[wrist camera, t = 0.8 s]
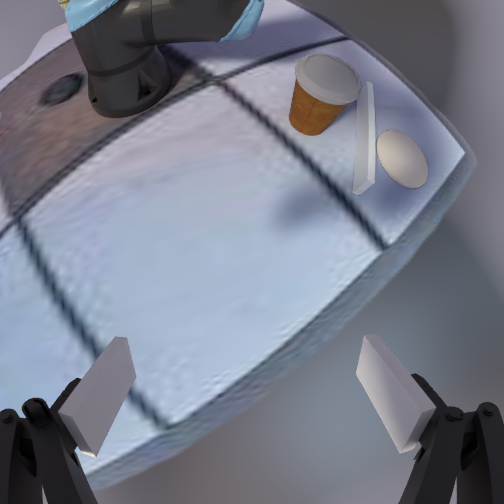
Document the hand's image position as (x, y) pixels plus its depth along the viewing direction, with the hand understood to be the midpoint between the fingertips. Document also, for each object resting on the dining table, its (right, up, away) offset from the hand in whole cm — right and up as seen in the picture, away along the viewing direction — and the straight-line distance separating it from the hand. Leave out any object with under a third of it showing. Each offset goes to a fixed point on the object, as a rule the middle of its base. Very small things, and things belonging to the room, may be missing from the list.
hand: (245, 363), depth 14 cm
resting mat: (+28, +23, +29) cm, 46 cm away
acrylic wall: (+19, +25, +28) cm, 42 cm away
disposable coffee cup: (+9, +27, +28) cm, 40 cm away
